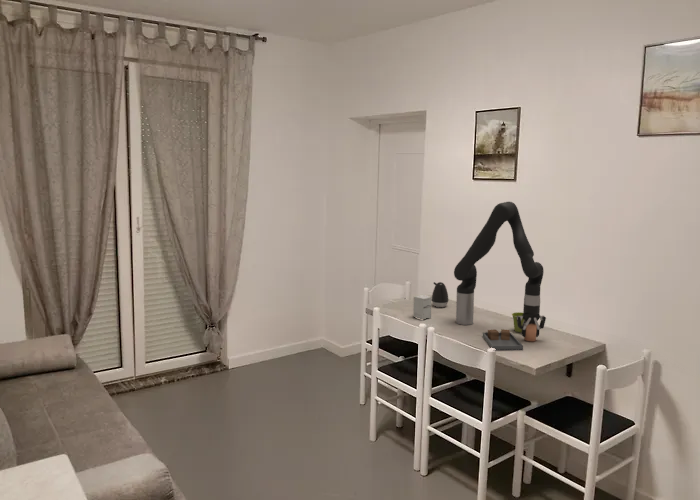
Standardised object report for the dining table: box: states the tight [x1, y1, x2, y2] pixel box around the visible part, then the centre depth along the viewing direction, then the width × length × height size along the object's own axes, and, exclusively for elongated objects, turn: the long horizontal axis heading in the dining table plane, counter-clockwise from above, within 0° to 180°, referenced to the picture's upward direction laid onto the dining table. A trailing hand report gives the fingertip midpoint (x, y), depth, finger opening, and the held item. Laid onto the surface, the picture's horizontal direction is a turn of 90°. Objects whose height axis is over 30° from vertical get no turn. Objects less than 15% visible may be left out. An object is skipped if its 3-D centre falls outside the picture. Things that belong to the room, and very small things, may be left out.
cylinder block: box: [523, 323, 537, 342], centre depth 259 cm, size 6×6×8 cm
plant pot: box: [511, 311, 524, 334], centre depth 273 cm, size 9×9×9 cm
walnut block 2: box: [500, 328, 511, 340], centre depth 260 cm, size 4×4×4 cm
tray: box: [481, 331, 524, 351], centre depth 255 cm, size 20×14×2 cm
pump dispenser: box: [431, 281, 449, 308], centre depth 322 cm, size 10×10×15 cm
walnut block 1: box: [487, 329, 500, 340], centre depth 260 cm, size 4×4×4 cm
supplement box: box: [412, 294, 432, 319], centre depth 297 cm, size 7×7×13 cm
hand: (530, 336), depth 259 cm, fingers closed on cylinder block, 5 cm apart
